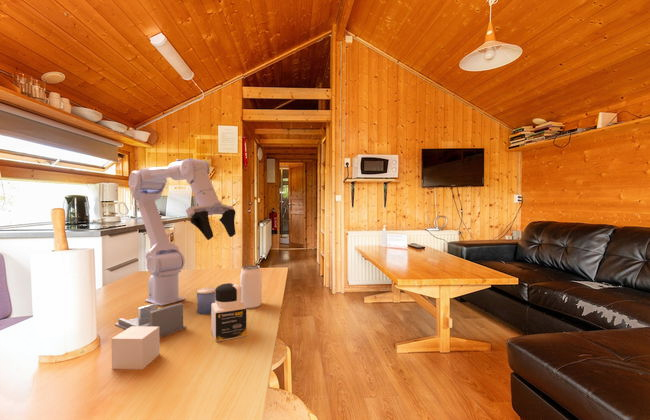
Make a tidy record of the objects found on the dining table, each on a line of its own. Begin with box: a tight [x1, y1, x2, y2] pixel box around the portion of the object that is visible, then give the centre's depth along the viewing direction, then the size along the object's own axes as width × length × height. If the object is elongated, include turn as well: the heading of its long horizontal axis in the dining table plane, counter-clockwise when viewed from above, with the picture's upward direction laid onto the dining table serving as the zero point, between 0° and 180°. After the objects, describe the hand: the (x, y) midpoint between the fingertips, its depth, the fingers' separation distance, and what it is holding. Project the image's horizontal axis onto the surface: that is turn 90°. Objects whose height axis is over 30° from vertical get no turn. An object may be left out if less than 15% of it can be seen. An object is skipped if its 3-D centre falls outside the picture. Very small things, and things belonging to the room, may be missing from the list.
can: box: [239, 264, 263, 310], centre depth 98 cm, size 6×6×12 cm
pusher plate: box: [137, 303, 159, 326], centre depth 81 cm, size 1×4×4 cm, turn 147°
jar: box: [196, 287, 216, 315], centre depth 92 cm, size 5×5×6 cm
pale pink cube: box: [111, 326, 161, 370], centre depth 63 cm, size 6×6×6 cm
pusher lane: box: [114, 302, 187, 339], centre depth 81 cm, size 17×9×6 cm, turn 57°
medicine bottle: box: [210, 282, 248, 343], centre depth 76 cm, size 7×7×12 cm
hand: (222, 236), depth 87 cm, fingers open, 7 cm apart
